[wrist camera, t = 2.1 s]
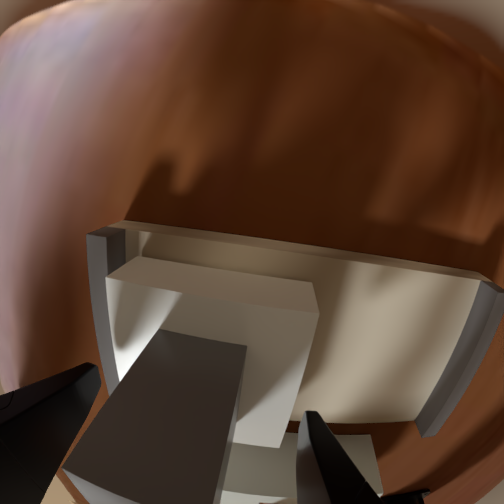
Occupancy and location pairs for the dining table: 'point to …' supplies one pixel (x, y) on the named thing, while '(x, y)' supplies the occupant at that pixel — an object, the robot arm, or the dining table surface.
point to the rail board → (338, 319)
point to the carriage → (192, 379)
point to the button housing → (285, 470)
